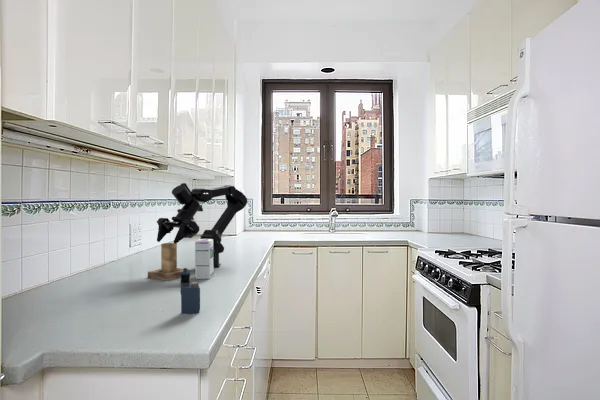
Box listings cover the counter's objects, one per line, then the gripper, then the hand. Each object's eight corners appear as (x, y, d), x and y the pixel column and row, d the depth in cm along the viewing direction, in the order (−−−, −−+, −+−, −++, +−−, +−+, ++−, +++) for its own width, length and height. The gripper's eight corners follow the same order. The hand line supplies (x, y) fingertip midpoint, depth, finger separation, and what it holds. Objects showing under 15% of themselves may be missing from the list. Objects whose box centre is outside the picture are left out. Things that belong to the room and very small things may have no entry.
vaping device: (182, 311, 109) (182, 267, 109) (201, 311, 109) (201, 267, 109) (179, 313, 107) (179, 269, 107) (198, 314, 107) (198, 269, 106)
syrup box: (210, 279, 149) (210, 240, 149) (194, 278, 149) (194, 240, 149) (213, 275, 155) (214, 238, 155) (198, 275, 155) (198, 238, 155)
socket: (170, 272, 161) (170, 267, 161) (190, 275, 156) (190, 269, 156) (147, 277, 152) (147, 271, 152) (167, 280, 146) (167, 274, 146)
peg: (169, 273, 157) (169, 242, 156) (176, 274, 155) (176, 243, 154) (161, 274, 153) (161, 243, 153) (168, 276, 151) (168, 244, 151)
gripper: (214, 226, 162) (194, 257, 153) (181, 224, 171) (161, 253, 162) (200, 207, 155) (179, 238, 146) (167, 206, 164) (144, 235, 155)
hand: (166, 242), depth 152 cm, fingers open, 9 cm apart
